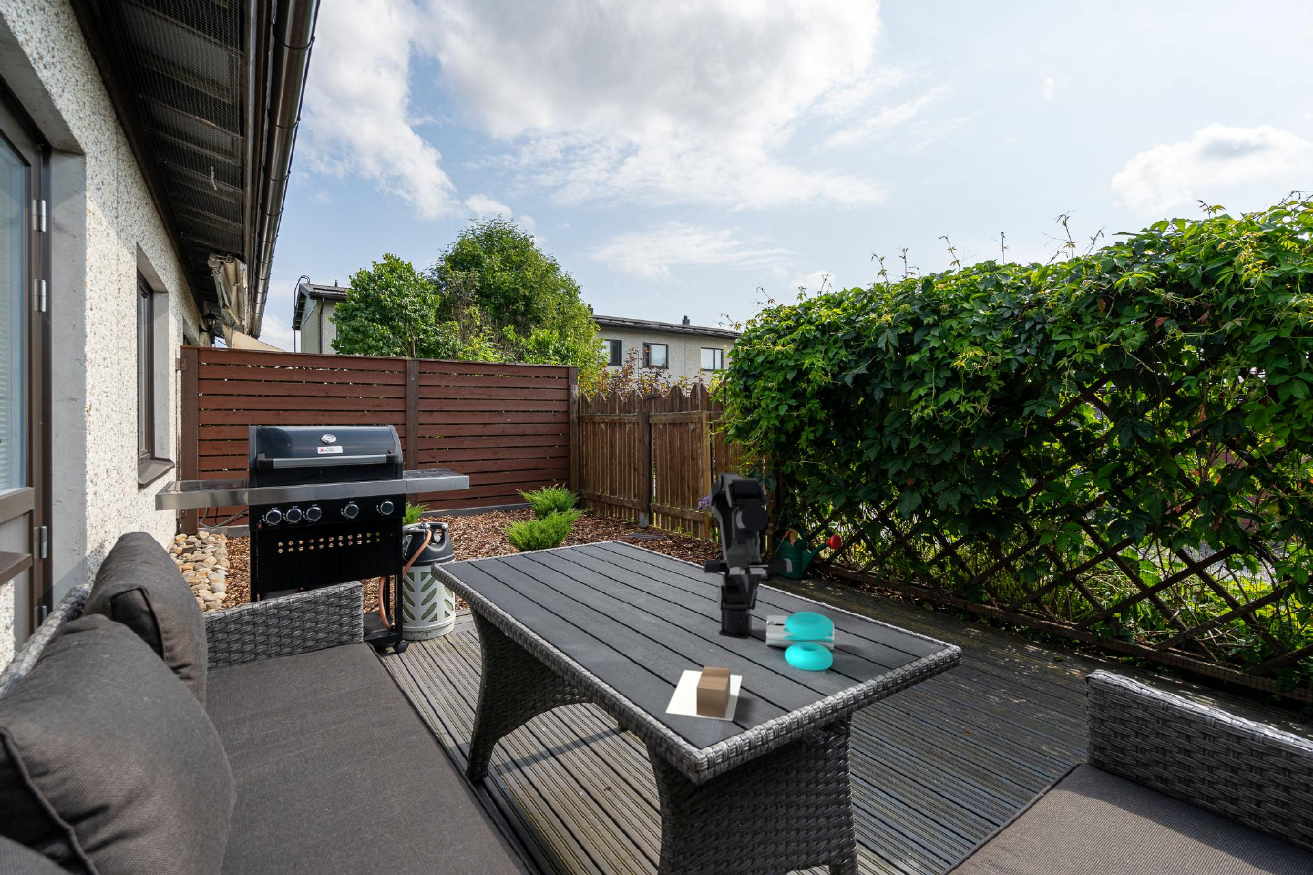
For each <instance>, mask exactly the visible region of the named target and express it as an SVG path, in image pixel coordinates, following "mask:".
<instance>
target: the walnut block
mask: <svg viewBox="0 0 1313 875" xmlns="http://www.w3.org/2000/svg"><path fill="white" fill-rule="evenodd" d="M731 670H732V669H731V668H727V667H726V668H725V667H717V666H716V667H715V666H707V665H706V666H703V669H702V671H701V672H702V674H701V677H700V679H699V682H698V685H697V691H696V715H702V716H710V717H719V718H725V714H726V710H727V706H728V702H729V698H730V676H731V675H732V673H731Z"/></svg>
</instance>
